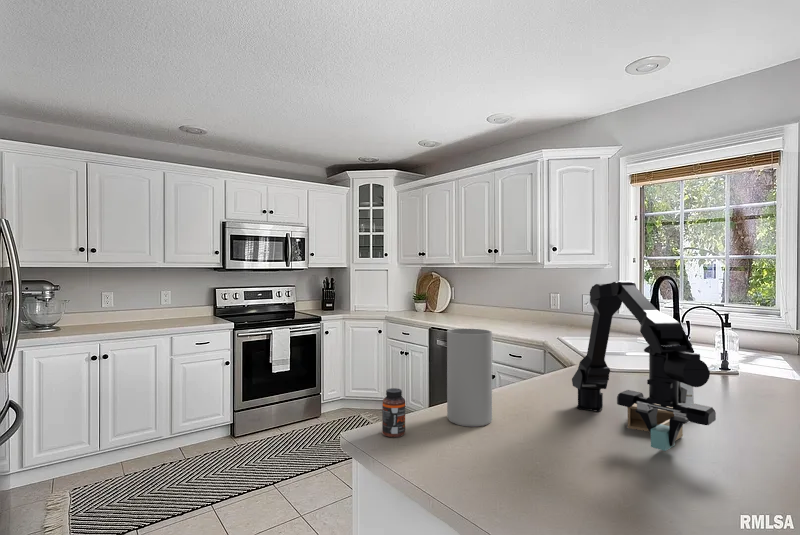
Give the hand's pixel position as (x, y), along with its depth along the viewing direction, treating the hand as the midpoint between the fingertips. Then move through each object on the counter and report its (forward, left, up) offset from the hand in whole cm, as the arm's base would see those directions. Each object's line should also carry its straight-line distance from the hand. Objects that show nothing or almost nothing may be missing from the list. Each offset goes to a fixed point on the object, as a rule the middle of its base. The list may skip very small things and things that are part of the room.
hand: (663, 443), depth 99 cm
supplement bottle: (-60, -21, -3) cm, 63 cm away
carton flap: (+2, +5, -2) cm, 6 cm away
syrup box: (+5, +40, -3) cm, 41 cm away
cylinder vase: (-47, -1, -3) cm, 47 cm away
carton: (-2, +18, -2) cm, 19 cm away
